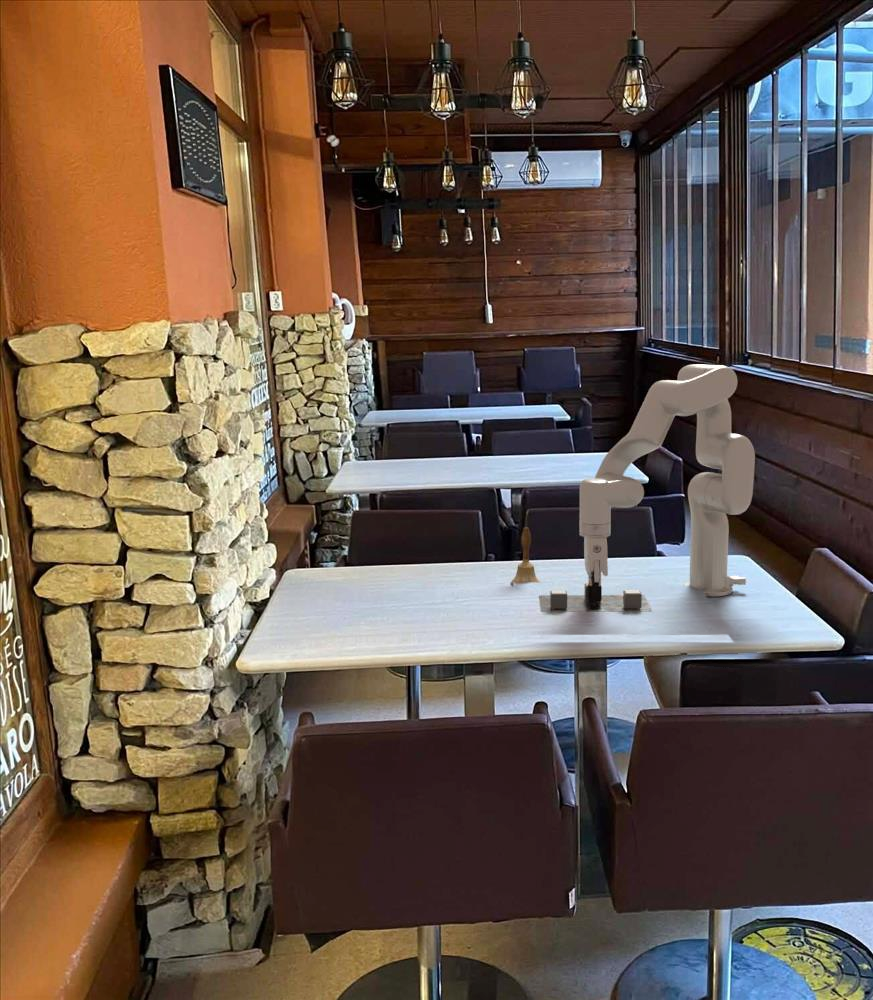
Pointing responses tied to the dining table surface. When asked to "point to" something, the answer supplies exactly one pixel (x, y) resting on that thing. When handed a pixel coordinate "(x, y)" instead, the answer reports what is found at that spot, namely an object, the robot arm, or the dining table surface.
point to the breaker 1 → (558, 599)
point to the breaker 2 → (632, 599)
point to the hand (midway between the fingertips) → (594, 600)
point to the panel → (593, 604)
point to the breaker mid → (587, 592)
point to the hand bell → (525, 561)
